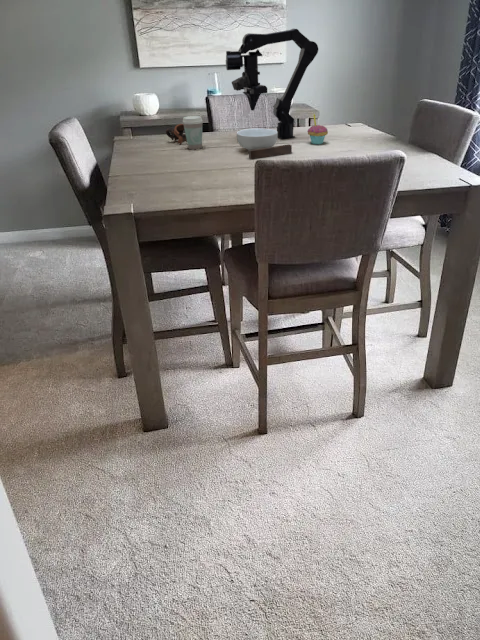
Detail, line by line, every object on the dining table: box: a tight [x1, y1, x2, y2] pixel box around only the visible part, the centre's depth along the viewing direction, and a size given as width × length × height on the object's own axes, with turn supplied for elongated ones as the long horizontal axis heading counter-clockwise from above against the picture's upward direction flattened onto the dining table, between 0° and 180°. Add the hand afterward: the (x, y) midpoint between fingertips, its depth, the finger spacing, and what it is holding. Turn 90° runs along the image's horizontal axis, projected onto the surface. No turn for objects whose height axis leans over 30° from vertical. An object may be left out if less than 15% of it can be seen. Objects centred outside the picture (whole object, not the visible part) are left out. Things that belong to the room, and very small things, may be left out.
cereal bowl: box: [236, 127, 278, 152], centre depth 203 cm, size 17×17×7 cm
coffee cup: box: [182, 115, 204, 150], centre depth 208 cm, size 8×8×12 cm
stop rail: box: [248, 144, 293, 160], centre depth 195 cm, size 18×2×3 cm, turn 116°
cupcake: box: [307, 112, 329, 145], centre depth 208 cm, size 9×8×12 cm
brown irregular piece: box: [165, 123, 187, 145], centre depth 220 cm, size 12×10×8 cm
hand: (252, 110), depth 215 cm, fingers closed
